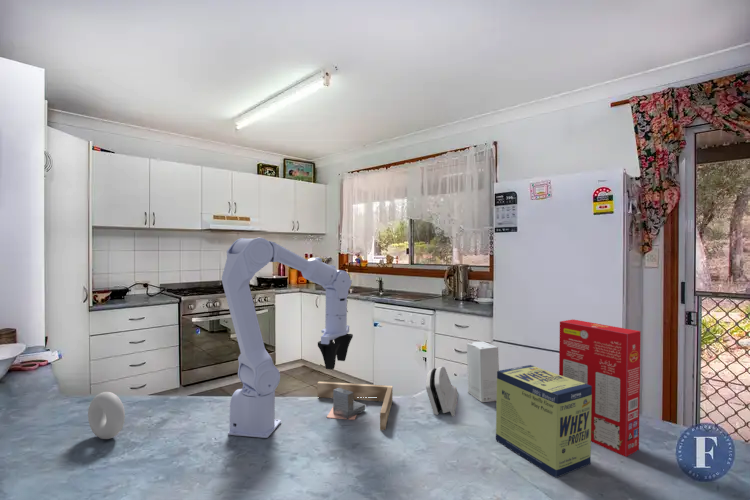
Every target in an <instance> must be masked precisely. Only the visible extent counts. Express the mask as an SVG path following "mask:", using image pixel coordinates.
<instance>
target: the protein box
mask: <svg viewBox="0 0 750 500" xmlns="http://www.w3.org/2000/svg"><path fill="white" fill-rule="evenodd" d="M591 403H592V386H591V385H588V384H585V383H582V382H579V381H576V380H573V379H570V378H567V377H564V376H561V375H559V373H555V372H553V371H552V372H551V371H548V370H546V369H543V368H540V367H538V366H535V365H532V364H528V365H524V366H523V365H522V366H517V367H512V368H507V369H506V368H505V369H501V370H500V369H499V371H497V401H496V404H495V405H496V411H495V412H496V415H495V416H496V417H495V418H496V419H495V421H496V422H495V440H496V441H497V442H499V444H501V445H503V446H505V447H506V448H508V449H509V450H511V451H512V452H514V453H516V454H518V455H519V456H520V457H522V458H523V459H525V460H527V461H529V462H530V463H531V464H533V465H534V466H536V467H538V468H540V469H541V470H543V471H544V472H546V473H548V474H549V475H550V476H552V477H554V478H558V477H561V476H563V475H567V474H569V473H571V472H573V471H576V470H579V469H580V468H583V467H586V466H588V465H591V463H592V462H591V451H592V450H591V448H592V446H591V445H592V442H591Z"/></svg>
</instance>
